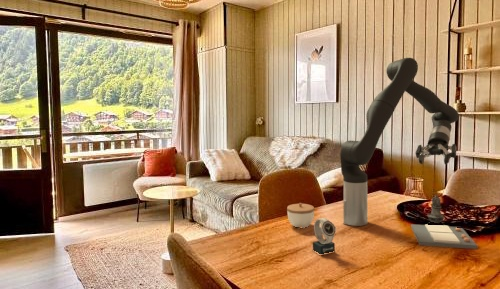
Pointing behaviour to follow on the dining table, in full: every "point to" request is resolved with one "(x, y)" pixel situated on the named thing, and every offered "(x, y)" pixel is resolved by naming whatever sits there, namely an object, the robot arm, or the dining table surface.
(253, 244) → the dining table surface
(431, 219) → the salt shaker
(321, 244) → the watch
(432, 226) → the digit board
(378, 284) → the dining table surface
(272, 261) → the dining table surface
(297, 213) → the lidded jar
